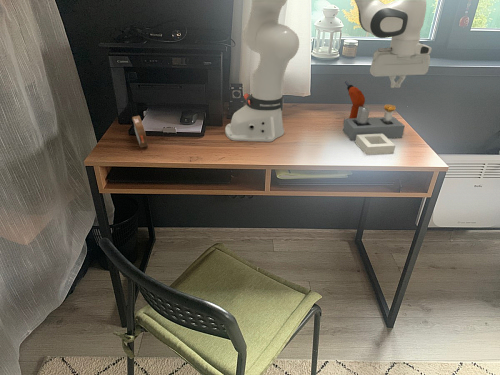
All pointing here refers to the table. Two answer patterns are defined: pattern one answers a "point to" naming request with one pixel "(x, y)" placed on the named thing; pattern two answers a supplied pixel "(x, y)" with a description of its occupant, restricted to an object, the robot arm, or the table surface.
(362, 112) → the grey metal peg
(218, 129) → the table surface
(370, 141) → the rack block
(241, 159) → the table surface
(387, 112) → the gold topped white cylinder
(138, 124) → the tin
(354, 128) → the socket block
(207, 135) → the table surface
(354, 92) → the toy drill
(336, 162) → the table surface
